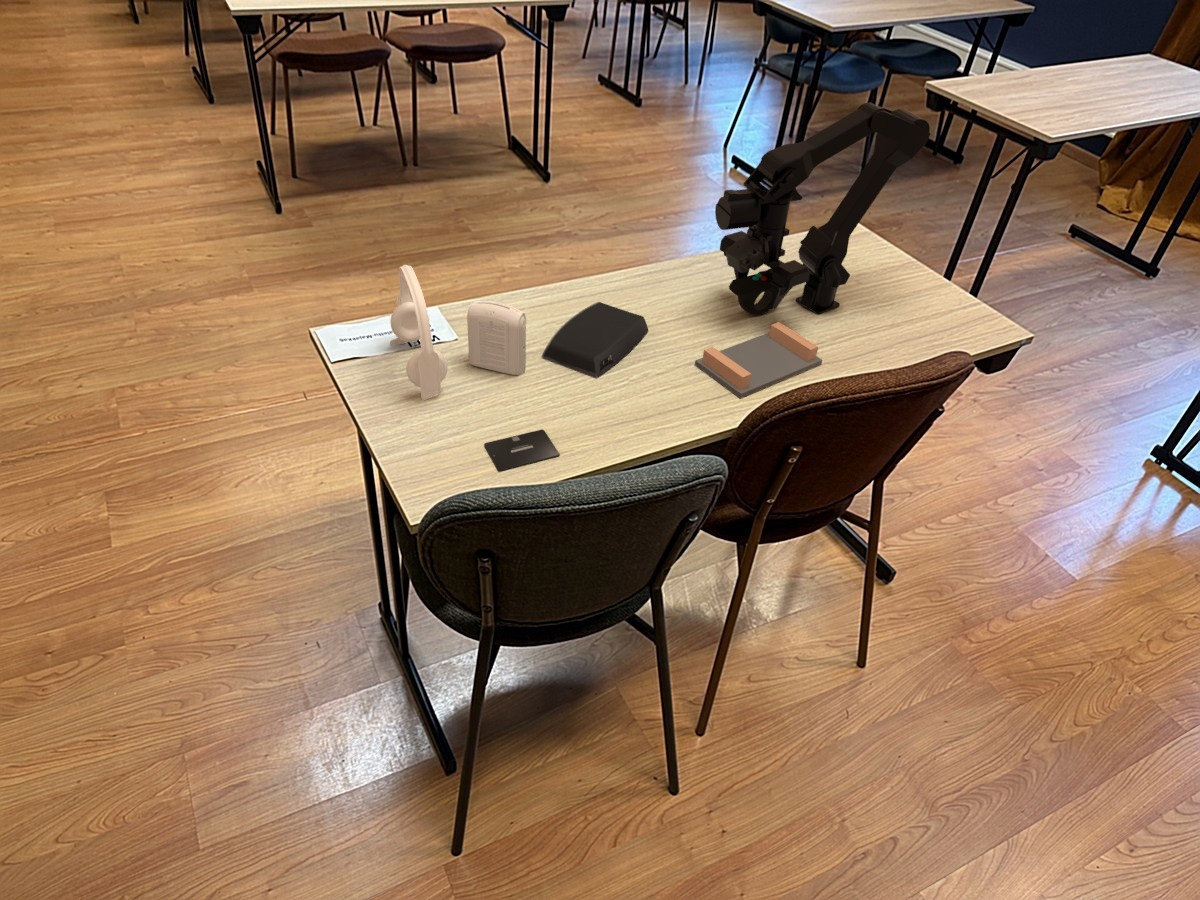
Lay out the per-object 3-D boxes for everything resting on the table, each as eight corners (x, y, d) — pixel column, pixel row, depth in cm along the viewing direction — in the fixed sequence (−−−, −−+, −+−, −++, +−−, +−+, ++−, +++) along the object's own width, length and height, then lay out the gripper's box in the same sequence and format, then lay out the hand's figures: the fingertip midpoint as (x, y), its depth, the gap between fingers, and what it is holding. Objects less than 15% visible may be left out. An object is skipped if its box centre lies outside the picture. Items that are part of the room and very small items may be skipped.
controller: (784, 311, 166) (794, 266, 160) (734, 325, 161) (742, 278, 155) (771, 302, 169) (780, 256, 163) (721, 315, 164) (728, 268, 158)
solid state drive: (483, 446, 130) (483, 443, 130) (543, 432, 134) (543, 428, 133) (498, 473, 125) (498, 470, 125) (560, 458, 129) (560, 454, 128)
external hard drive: (537, 358, 150) (537, 339, 148) (593, 313, 163) (593, 295, 161) (600, 382, 145) (601, 362, 143) (652, 334, 158) (654, 315, 156)
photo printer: (529, 365, 147) (529, 303, 140) (520, 378, 144) (519, 315, 136) (475, 353, 150) (472, 292, 142) (465, 366, 146) (461, 303, 138)
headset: (453, 399, 139) (445, 304, 128) (410, 406, 137) (398, 310, 125) (428, 337, 153) (419, 247, 142) (389, 343, 151) (377, 252, 140)
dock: (774, 334, 159) (777, 318, 157) (821, 364, 152) (825, 348, 150) (694, 365, 150) (697, 348, 148) (740, 398, 143) (743, 381, 140)
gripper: (703, 213, 155) (693, 288, 165) (774, 253, 144) (759, 331, 154) (747, 201, 161) (735, 275, 170) (819, 238, 149) (802, 315, 159)
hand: (756, 298), depth 163 cm, fingers open, 9 cm apart
